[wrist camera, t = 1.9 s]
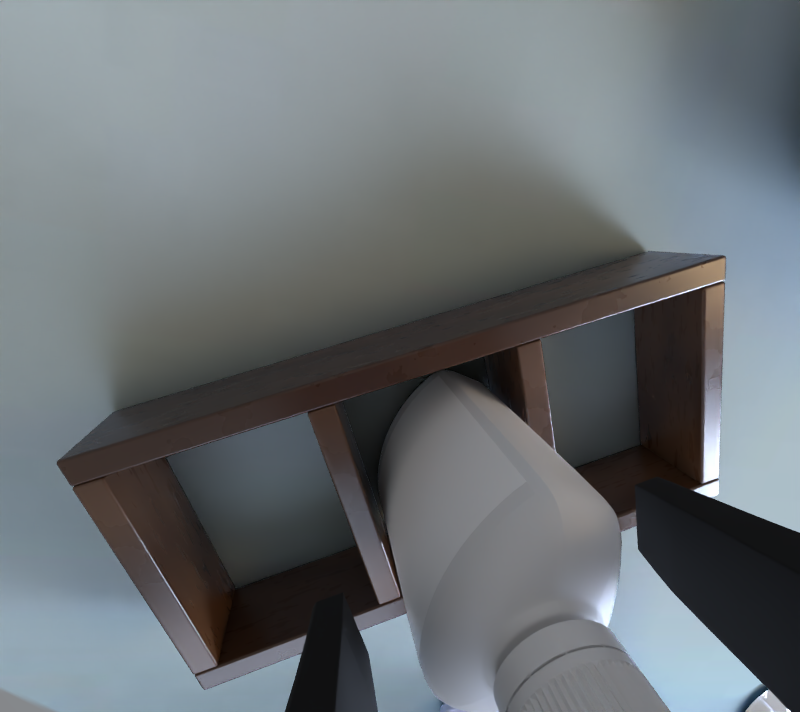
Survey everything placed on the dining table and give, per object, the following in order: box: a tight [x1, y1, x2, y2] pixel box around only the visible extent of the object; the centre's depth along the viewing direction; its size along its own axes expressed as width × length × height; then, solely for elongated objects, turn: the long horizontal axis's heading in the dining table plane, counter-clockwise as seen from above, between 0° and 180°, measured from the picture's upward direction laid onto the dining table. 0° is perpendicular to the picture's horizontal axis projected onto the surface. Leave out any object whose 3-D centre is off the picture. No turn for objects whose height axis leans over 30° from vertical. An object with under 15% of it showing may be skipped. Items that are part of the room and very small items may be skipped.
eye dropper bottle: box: [378, 370, 670, 712], centre depth 10 cm, size 4×6×12 cm
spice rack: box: [57, 251, 726, 690], centre depth 14 cm, size 9×19×3 cm, turn 104°
